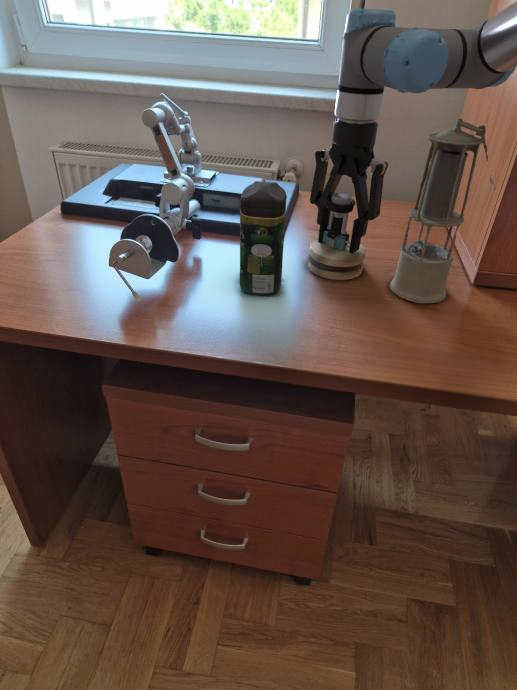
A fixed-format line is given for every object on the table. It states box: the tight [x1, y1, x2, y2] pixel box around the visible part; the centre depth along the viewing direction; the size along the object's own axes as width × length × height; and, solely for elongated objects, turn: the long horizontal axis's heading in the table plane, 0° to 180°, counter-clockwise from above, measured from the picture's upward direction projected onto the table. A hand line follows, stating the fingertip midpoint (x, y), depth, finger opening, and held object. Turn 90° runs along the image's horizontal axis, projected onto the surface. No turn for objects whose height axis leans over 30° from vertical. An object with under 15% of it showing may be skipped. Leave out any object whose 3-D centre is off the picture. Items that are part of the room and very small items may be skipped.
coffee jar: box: [239, 180, 288, 296], centre depth 85 cm, size 10×8×19 cm
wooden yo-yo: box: [307, 238, 367, 281], centre depth 96 cm, size 12×12×4 cm
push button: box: [322, 192, 356, 250], centre depth 92 cm, size 7×5×10 cm
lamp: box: [389, 118, 496, 304], centre depth 82 cm, size 10×13×30 cm
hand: (338, 245), depth 94 cm, fingers closed on push button, 6 cm apart
